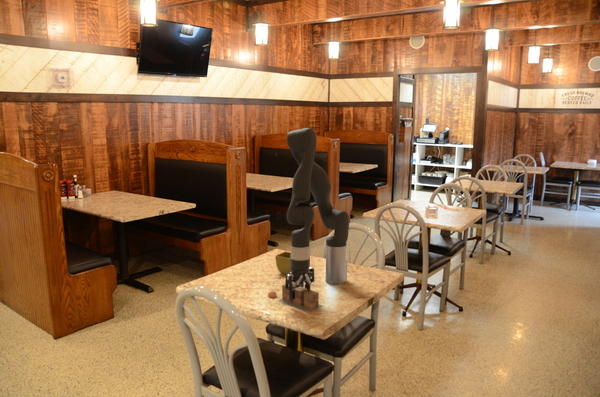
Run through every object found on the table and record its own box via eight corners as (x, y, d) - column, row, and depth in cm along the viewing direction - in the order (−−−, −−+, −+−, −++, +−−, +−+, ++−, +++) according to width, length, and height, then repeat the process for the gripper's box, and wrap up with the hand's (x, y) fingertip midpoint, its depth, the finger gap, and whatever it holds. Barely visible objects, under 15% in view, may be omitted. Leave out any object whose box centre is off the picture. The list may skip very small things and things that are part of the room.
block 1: (289, 296, 199) (289, 282, 198) (296, 299, 197) (296, 285, 196) (282, 299, 196) (282, 285, 195) (289, 301, 194) (289, 287, 193)
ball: (272, 296, 203) (272, 288, 202) (278, 298, 200) (278, 290, 199) (265, 298, 200) (265, 290, 199) (271, 301, 198) (271, 292, 197)
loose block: (300, 300, 195) (300, 286, 194) (307, 303, 192) (307, 288, 191) (293, 303, 192) (293, 288, 191) (300, 306, 190) (300, 291, 189)
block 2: (310, 304, 191) (311, 290, 190) (318, 307, 188) (318, 292, 187) (303, 307, 188) (304, 292, 187) (311, 310, 186) (311, 295, 185)
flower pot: (300, 272, 234) (300, 254, 233) (290, 277, 227) (290, 258, 225) (285, 268, 239) (285, 251, 237) (274, 273, 232) (274, 255, 230)
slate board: (292, 297, 202) (292, 294, 201) (323, 308, 190) (323, 305, 190) (277, 303, 195) (277, 300, 195) (308, 315, 184) (308, 312, 183)
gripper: (294, 262, 182) (294, 303, 184) (319, 255, 192) (319, 294, 195) (280, 258, 187) (280, 298, 189) (305, 251, 197) (305, 289, 200)
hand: (300, 296), depth 192 cm, fingers open, 8 cm apart
